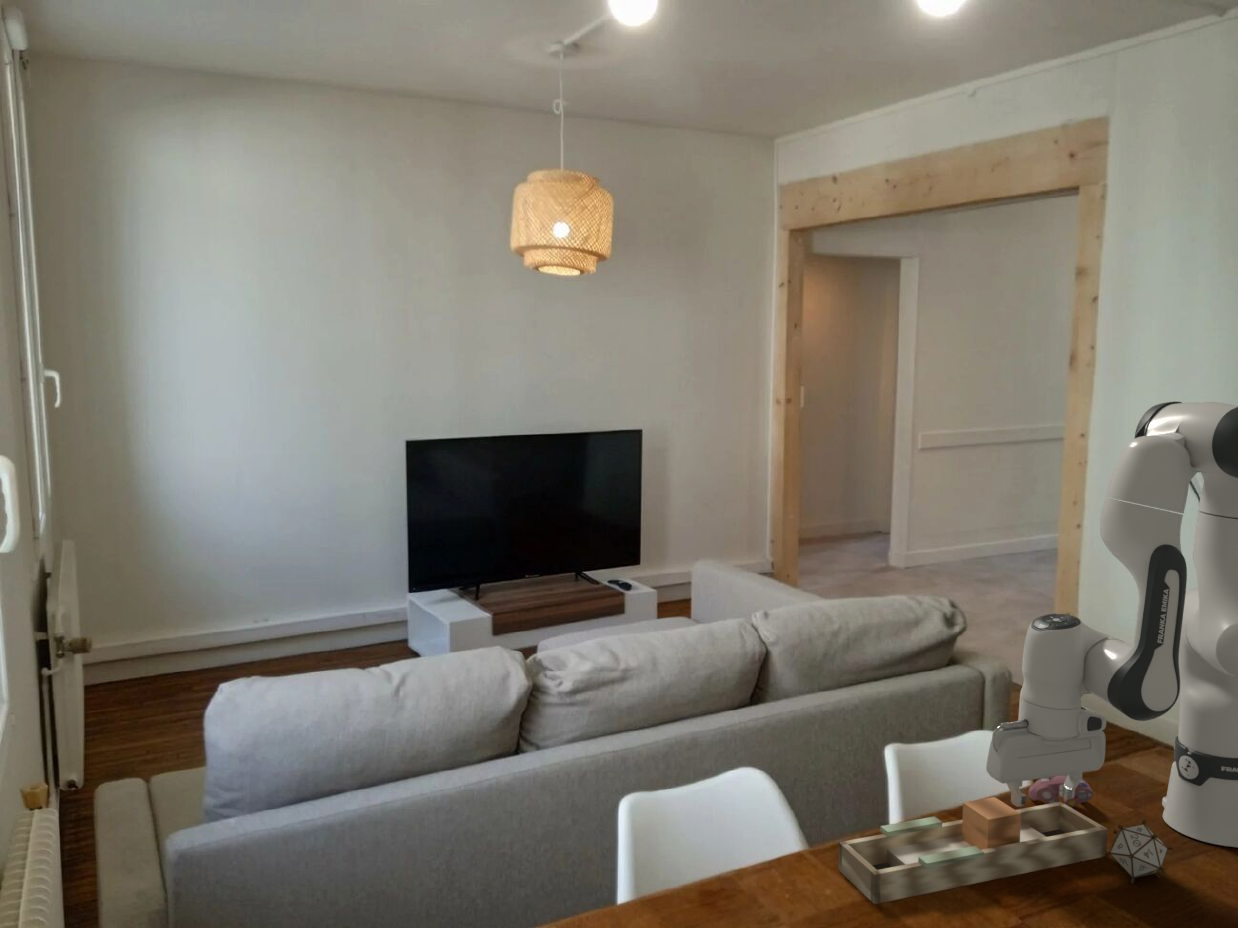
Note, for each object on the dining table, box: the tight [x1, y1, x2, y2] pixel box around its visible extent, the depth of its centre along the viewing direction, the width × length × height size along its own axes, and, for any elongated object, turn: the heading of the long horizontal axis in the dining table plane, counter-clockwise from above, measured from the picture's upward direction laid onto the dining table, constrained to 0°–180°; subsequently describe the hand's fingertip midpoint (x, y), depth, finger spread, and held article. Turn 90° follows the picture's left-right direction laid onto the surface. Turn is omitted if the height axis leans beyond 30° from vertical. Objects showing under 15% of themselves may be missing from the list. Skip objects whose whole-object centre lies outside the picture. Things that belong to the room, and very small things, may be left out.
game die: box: [1103, 818, 1175, 884], centre depth 147 cm, size 9×8×10 cm
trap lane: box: [837, 801, 1109, 905], centre depth 151 cm, size 42×12×5 cm, turn 108°
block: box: [961, 796, 1021, 850], centre depth 151 cm, size 6×6×6 cm
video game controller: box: [1028, 775, 1094, 808], centre depth 170 cm, size 10×5×7 cm, turn 83°
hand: (1042, 800), depth 154 cm, fingers open, 8 cm apart
